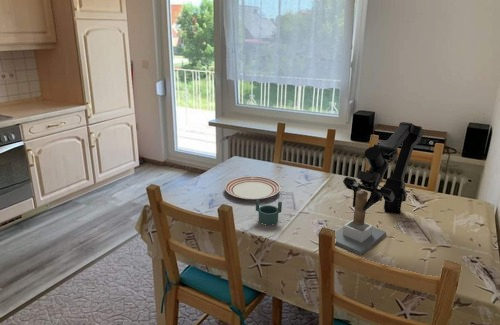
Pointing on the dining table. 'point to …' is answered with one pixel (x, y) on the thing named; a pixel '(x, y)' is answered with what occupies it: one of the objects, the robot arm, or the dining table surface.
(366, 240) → the cup socket
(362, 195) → the dowel post
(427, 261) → the dining table surface
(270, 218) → the teal handled pot
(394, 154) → the robot arm
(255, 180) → the dinner plate
